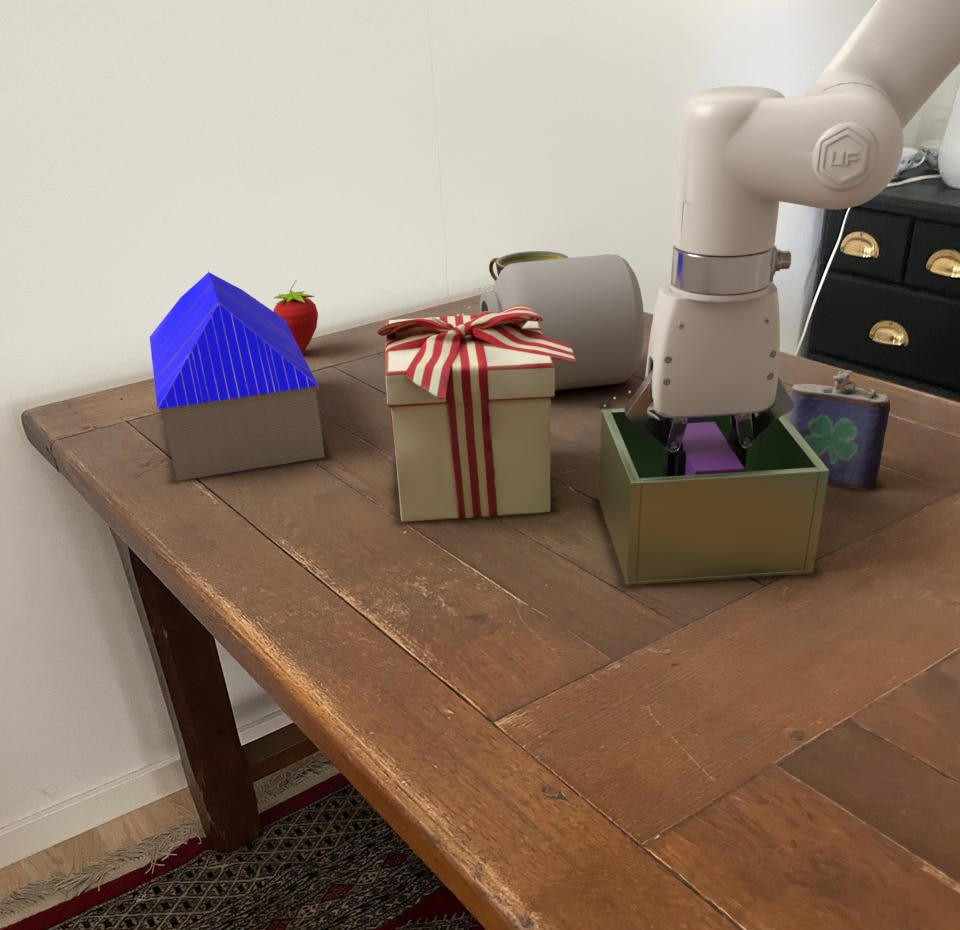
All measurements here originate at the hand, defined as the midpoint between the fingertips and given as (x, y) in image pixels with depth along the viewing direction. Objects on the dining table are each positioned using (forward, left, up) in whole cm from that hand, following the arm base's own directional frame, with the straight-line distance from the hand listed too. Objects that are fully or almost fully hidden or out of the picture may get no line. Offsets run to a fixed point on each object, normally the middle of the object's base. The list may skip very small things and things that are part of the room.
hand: (702, 485), depth 89 cm
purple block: (0, 0, 0) cm, 0 cm away
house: (+45, -32, -5) cm, 56 cm away
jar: (+11, -38, -5) cm, 40 cm away
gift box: (+19, -12, -5) cm, 23 cm away
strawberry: (+41, -58, -5) cm, 71 cm away
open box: (0, 0, -5) cm, 5 cm away
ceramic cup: (+10, -62, -5) cm, 63 cm away
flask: (-15, -10, -5) cm, 19 cm away
